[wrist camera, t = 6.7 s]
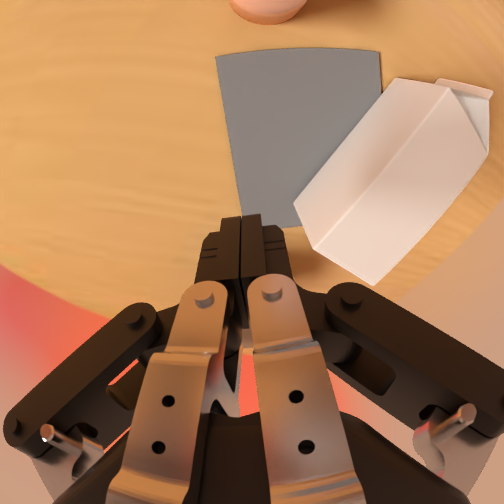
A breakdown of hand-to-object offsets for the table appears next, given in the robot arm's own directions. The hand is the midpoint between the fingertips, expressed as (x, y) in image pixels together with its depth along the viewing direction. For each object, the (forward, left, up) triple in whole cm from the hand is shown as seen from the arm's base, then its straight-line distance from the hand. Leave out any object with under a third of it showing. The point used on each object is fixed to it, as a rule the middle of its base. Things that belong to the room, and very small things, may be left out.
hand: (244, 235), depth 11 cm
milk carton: (+8, +6, -9) cm, 13 cm away
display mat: (0, +5, -13) cm, 14 cm away
